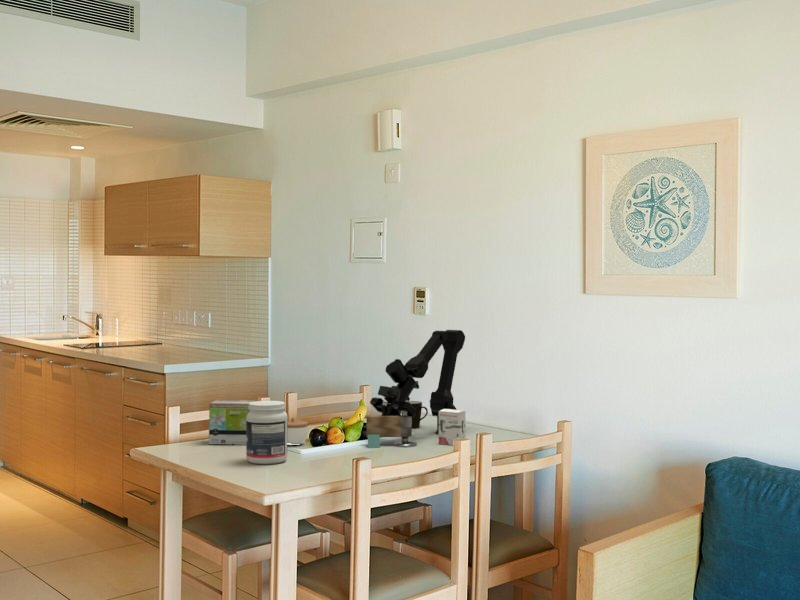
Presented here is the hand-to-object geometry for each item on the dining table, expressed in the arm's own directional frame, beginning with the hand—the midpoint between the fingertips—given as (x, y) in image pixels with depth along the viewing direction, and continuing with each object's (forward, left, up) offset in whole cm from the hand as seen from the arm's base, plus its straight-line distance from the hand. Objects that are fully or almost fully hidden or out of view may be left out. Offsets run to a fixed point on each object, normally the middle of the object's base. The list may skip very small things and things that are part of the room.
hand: (380, 426), depth 302 cm
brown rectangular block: (+2, +3, -3) cm, 5 cm away
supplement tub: (+35, -31, -6) cm, 47 cm away
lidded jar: (+5, -30, -6) cm, 31 cm away
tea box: (+3, -52, -7) cm, 53 cm away
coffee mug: (-37, +8, -6) cm, 39 cm away
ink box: (-3, +25, -6) cm, 26 cm away
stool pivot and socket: (+2, +4, -6) cm, 8 cm away
